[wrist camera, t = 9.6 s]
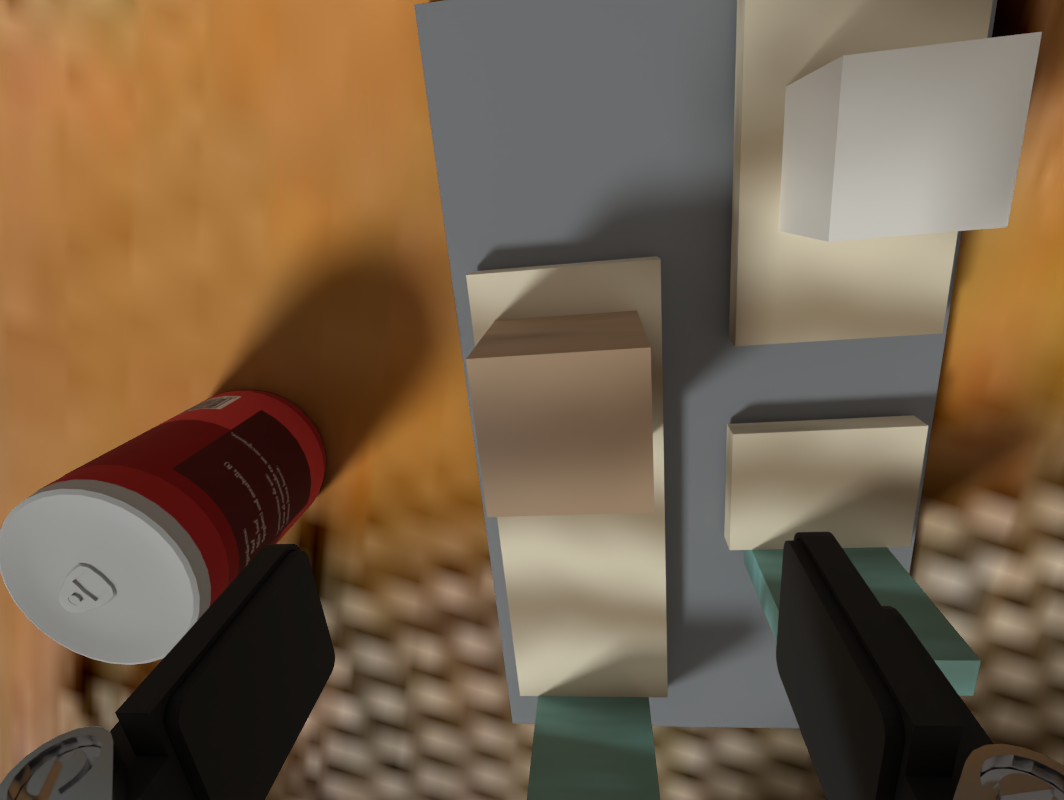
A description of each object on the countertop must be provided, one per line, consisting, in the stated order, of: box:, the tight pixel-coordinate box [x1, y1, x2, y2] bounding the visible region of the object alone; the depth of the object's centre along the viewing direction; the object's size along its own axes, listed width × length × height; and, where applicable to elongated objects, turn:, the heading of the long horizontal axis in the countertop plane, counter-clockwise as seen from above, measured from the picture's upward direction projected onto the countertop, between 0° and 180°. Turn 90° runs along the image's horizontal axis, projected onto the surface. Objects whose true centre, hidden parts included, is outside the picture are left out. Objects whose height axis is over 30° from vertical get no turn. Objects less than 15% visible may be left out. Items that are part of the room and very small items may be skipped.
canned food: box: [0, 390, 326, 665], centre depth 26 cm, size 8×8×11 cm
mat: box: [414, 0, 997, 728], centre depth 27 cm, size 37×21×1 cm, turn 6°
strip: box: [466, 256, 668, 800], centre depth 25 cm, size 25×8×8 cm, turn 6°
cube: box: [466, 311, 655, 517], centre depth 22 cm, size 6×6×6 cm
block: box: [779, 32, 1042, 242], centre depth 19 cm, size 5×5×5 cm
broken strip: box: [724, 0, 993, 696], centre depth 20 cm, size 25×8×8 cm, turn 6°
